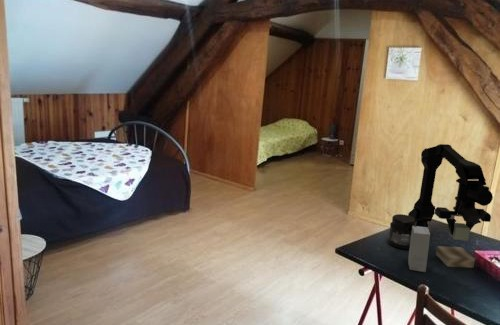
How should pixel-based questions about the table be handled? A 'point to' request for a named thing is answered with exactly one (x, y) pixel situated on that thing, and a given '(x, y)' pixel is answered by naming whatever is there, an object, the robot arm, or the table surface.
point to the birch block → (455, 257)
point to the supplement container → (401, 231)
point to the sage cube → (460, 232)
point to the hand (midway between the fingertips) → (458, 235)
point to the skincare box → (419, 248)
